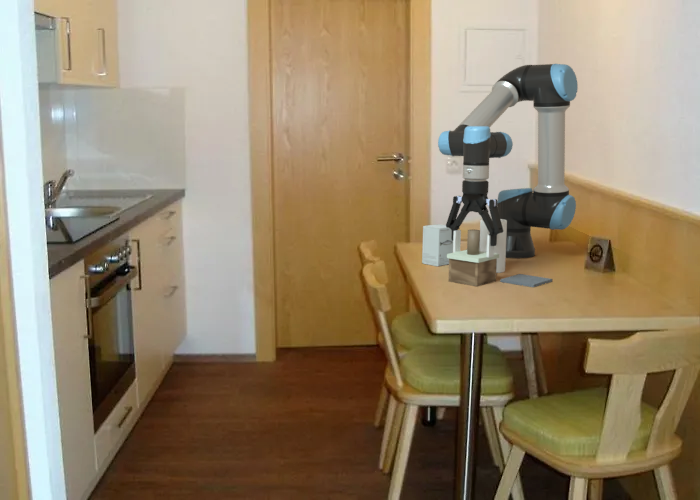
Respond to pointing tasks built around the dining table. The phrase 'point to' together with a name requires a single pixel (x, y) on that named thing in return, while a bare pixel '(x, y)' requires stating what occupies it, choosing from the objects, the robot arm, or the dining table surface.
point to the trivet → (526, 280)
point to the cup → (500, 245)
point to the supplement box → (436, 244)
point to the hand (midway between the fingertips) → (473, 254)
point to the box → (472, 272)
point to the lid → (472, 250)
